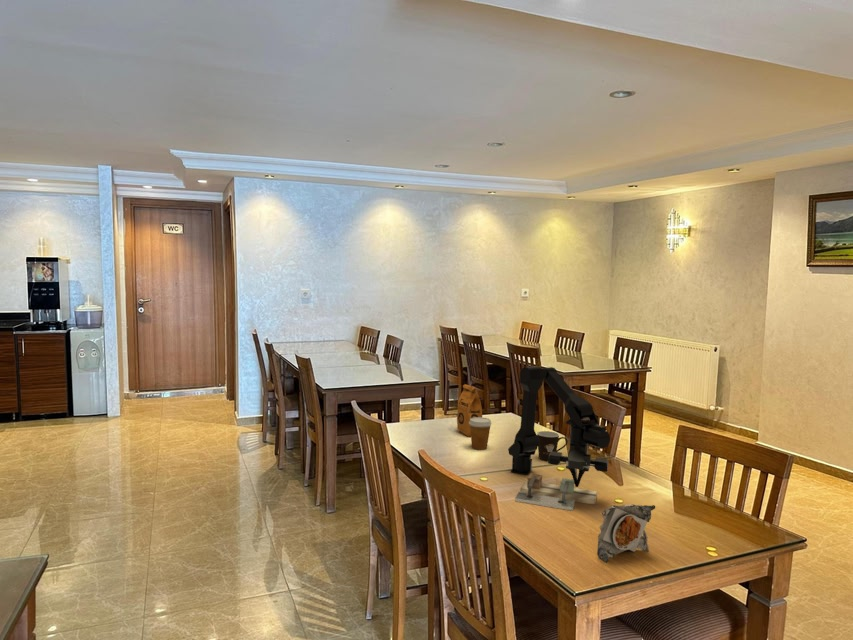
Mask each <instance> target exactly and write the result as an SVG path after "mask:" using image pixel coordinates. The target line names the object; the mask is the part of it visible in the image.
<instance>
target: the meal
mask: <svg viewBox="0 0 853 640" xmlns="http://www.w3.org/2000/svg"><path fill="white" fill-rule="evenodd" d="M653 510H656V505H655V504H653V505H642V504H633V503H631V504H630V503H629V504H628V503H627V504H623V505H616V504H615V505H611V506H610V507H609V508H607V509H604V510H603V511H602V512H601V514H602V518H603V519H602V520H603V521H602V524H600V526H599V527H598V528H599V530H600V533H599V534H598V537H597V541H598V542H597V550H596V552H597V553H596V556H597V557H598V558H599V560H602V562H603V561H604V562H605V563H606V564H608V561H609V558H614V557H615V556H616V554H619V553H620V554H621V553H623V552H626V551H631V552H636V551H637V549H638V550H640V551H646V552H650V548H649V545H648V534H647V532H646V530H645V529H646V526H647V523H649V522H650V521H651V519H652V511H653Z"/></svg>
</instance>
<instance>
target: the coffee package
mask: <svg viewBox="0 0 853 640" xmlns="http://www.w3.org/2000/svg"><path fill="white" fill-rule="evenodd" d="M462 389H463V390H462V392H461V394H460V395H459V398H458V399H457V417H456V424H457V425H456V426H457V427H456V430H458V431H459V432H461V434H464V435H465V436H467V437H468V438H471V432H470V424H469V421H470V419H471V418H474V417H483V407H482V401H481V399H480V396H479V393H478V390H477V388H476V387H474V386H473V385H468V384H466V383H465V384H463V385H462Z"/></svg>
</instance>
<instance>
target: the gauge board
mask: <svg viewBox="0 0 853 640" xmlns="http://www.w3.org/2000/svg"><path fill="white" fill-rule="evenodd" d="M519 489H520V490H519V492H525V493H528V495H529V496H531V494H537V495H543V496H549V497H555V498H562V491H560V485H559V484H552V483H545V482H543V474H538V473H533V472H529V474H528V476H527V480H526V479H525V480H524V481H523V483H522V485H521V486H520V487H519ZM597 495H598V490H589V489H584V488H578V487H574V490H573V493H568V492H566V494H565V499H568V500H574V501H575V503H576V502H577V503H583V504H588V505H596V501H597V497H598V496H597Z"/></svg>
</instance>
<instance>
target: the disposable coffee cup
mask: <svg viewBox="0 0 853 640" xmlns="http://www.w3.org/2000/svg"><path fill="white" fill-rule="evenodd" d="M469 424H470V432H471V437H470V439H471V441H470V442H471V448H472V449H473V450H476V451H477V450H478V451H483V450H486V449H487V448H488V443H489V437H490V430H491V426H492V421H491V419H490V418H489V417H488V418H487V417H483V416H482V417H474V418H471V419H470V421H469Z"/></svg>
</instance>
